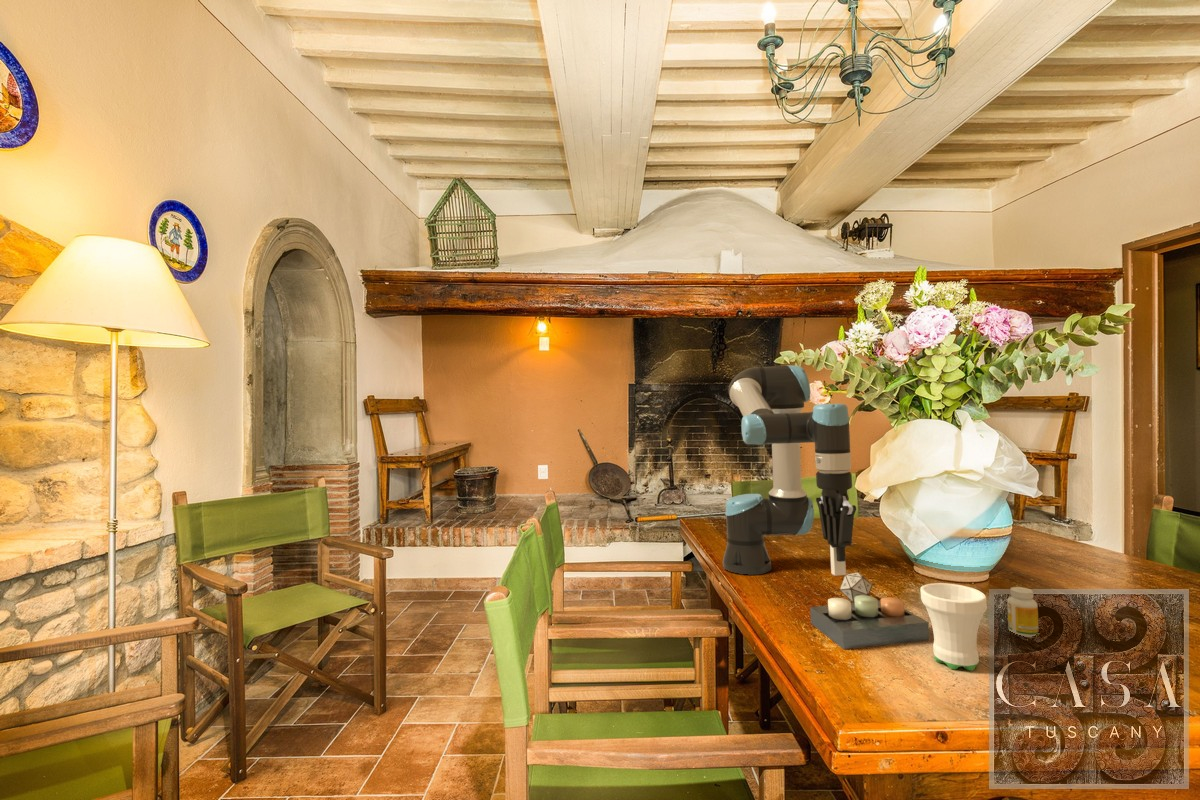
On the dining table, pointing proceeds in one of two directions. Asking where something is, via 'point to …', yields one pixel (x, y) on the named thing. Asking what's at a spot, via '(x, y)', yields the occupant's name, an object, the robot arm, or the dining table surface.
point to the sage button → (866, 606)
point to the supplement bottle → (1022, 612)
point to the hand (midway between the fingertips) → (838, 574)
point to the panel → (870, 628)
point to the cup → (954, 622)
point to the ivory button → (839, 608)
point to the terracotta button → (892, 607)
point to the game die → (855, 585)
